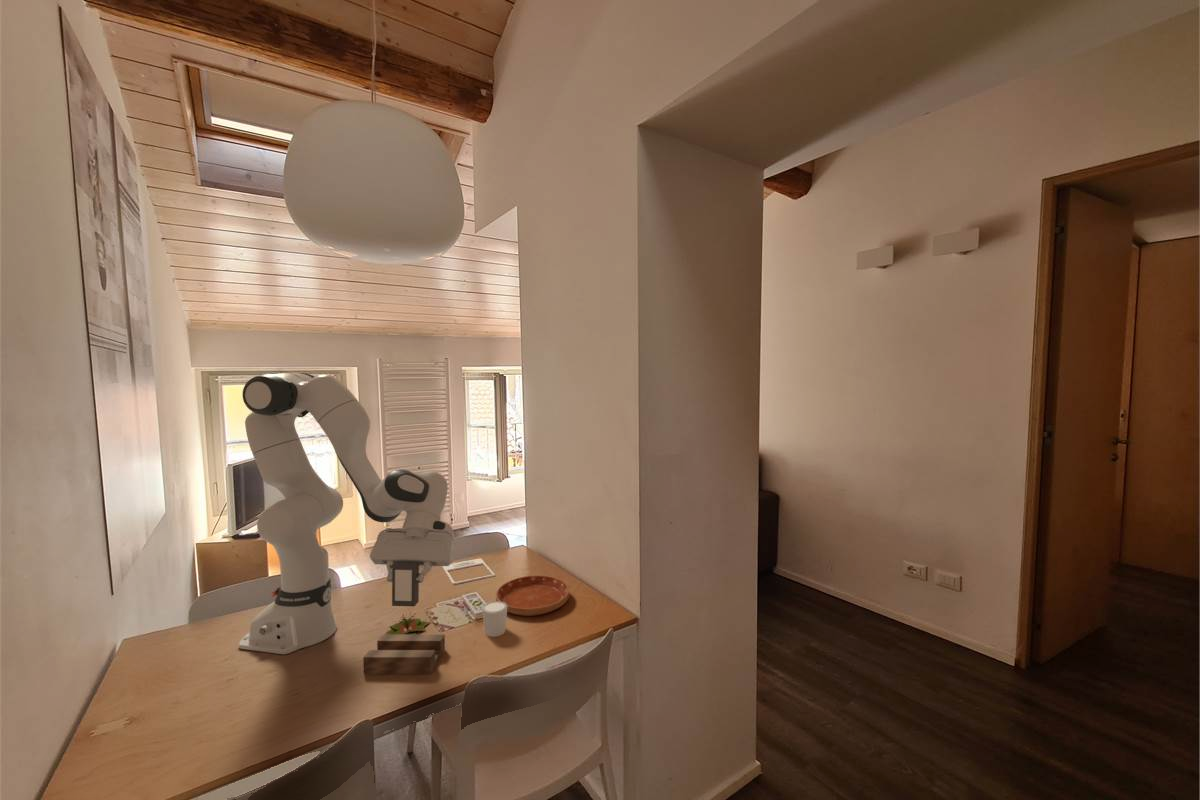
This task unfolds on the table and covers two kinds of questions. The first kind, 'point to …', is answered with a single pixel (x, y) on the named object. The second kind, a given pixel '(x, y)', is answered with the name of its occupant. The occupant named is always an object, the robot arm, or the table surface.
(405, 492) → the robot arm
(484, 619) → the white cylinder
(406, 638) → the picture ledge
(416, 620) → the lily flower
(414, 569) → the small frame
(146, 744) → the table surface
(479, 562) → the photo frame
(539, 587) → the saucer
